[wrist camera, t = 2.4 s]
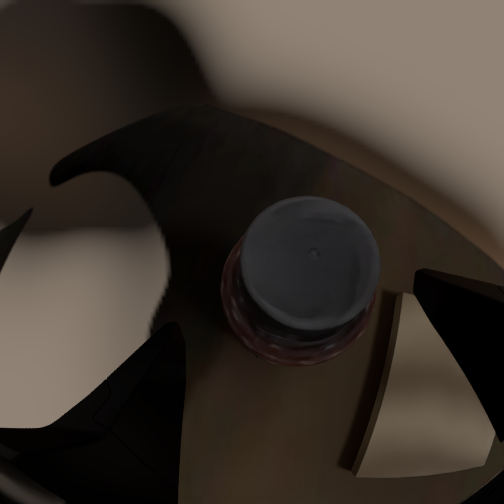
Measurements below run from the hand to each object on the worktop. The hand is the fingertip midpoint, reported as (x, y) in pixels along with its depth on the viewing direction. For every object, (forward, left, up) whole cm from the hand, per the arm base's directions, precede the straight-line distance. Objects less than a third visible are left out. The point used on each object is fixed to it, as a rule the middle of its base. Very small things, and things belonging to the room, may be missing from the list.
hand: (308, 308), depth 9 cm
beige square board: (-2, -14, -9) cm, 16 cm away
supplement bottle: (+1, 0, -9) cm, 9 cm away
